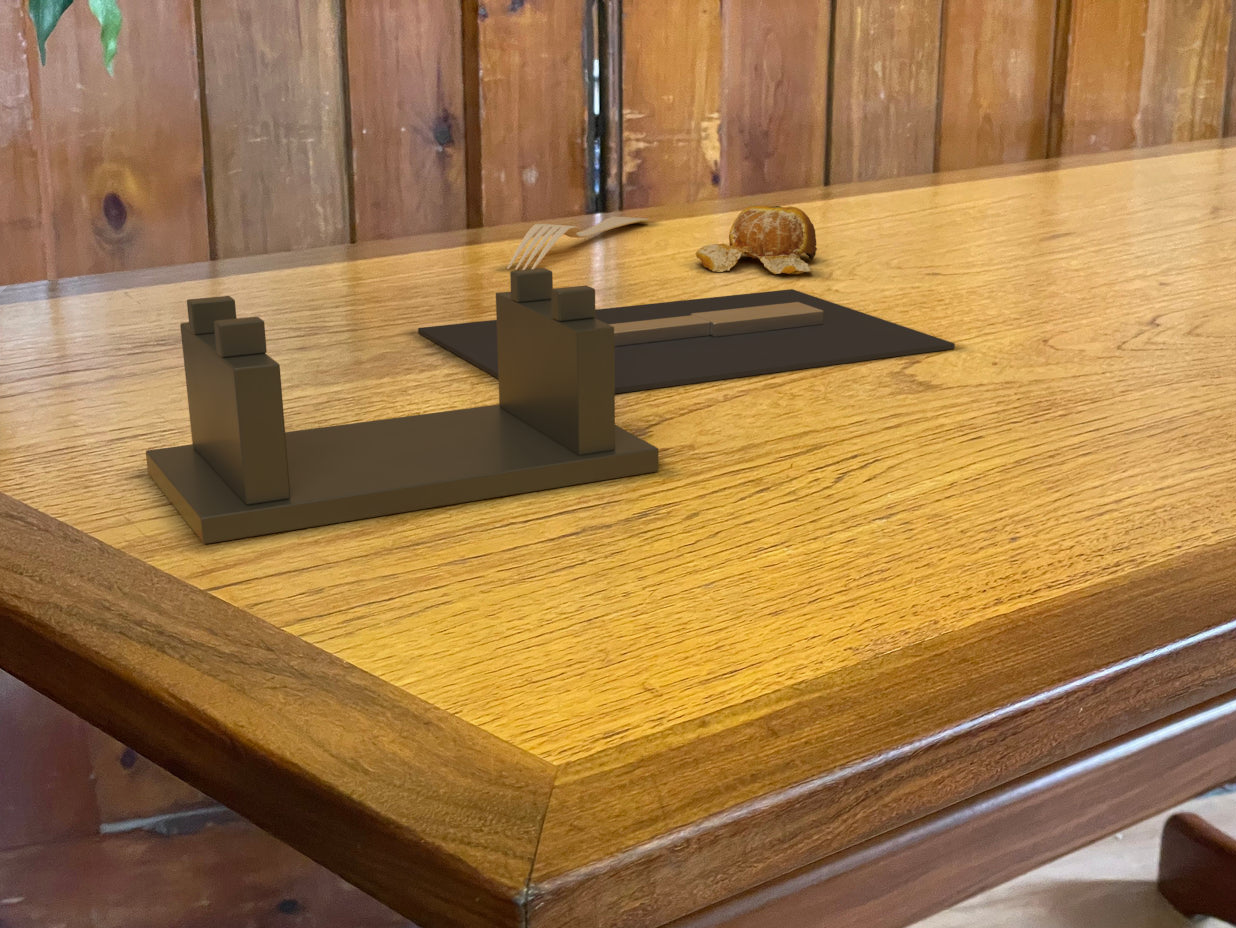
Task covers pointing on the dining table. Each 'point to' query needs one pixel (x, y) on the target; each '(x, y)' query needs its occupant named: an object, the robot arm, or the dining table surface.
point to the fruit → (765, 240)
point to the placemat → (719, 342)
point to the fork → (566, 230)
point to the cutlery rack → (395, 426)
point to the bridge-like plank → (718, 323)
